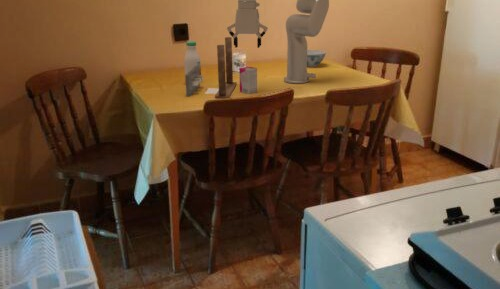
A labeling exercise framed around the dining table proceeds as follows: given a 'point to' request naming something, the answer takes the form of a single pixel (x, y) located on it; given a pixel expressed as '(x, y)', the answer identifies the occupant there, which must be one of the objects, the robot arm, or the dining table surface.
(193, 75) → the panel
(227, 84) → the gate
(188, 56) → the milk bottle
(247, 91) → the supplement box
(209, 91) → the pad
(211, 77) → the dining table surface
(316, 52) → the chinaware
